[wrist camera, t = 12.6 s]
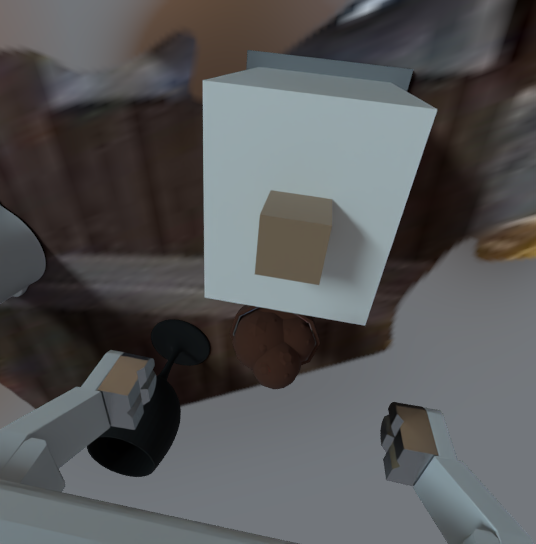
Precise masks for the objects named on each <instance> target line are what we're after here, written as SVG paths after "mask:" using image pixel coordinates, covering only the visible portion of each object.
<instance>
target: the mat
mask: <svg viewBox="0 0 536 544" xmlns="http://www.w3.org/2000/svg"><path fill="white" fill-rule="evenodd" d="M247 53H248V54H247V70H248V69H253V68H257V67H264V68H272V69H281V70H289V71H298V72H306V73H314V74H323V75H331V76H339V77H348V78H356V79H365V80H373V81H381V82H390V83H392V84H394V85H396V86H398V87H399V88H401V89H403V90H405V91H406V92H407V90H408V86H409V83H410V79H411V76H412V72H413V69H405V68H396V67H388V66H379V65H371V64H362V63H354V62H345V61H337V60H328V59H320V58H311V57H303V56H294V55H286V54H277V53H268V52H259V51H252V50H248V51H247Z"/></svg>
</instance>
